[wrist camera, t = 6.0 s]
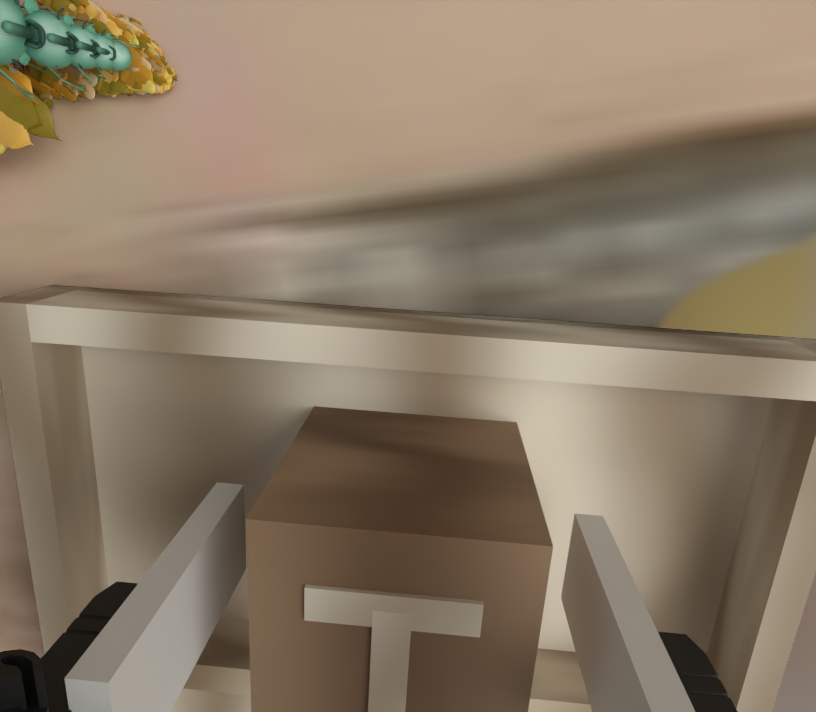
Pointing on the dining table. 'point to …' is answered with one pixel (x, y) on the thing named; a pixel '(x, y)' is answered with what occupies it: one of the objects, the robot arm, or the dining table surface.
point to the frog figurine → (69, 62)
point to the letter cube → (397, 567)
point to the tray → (425, 395)
